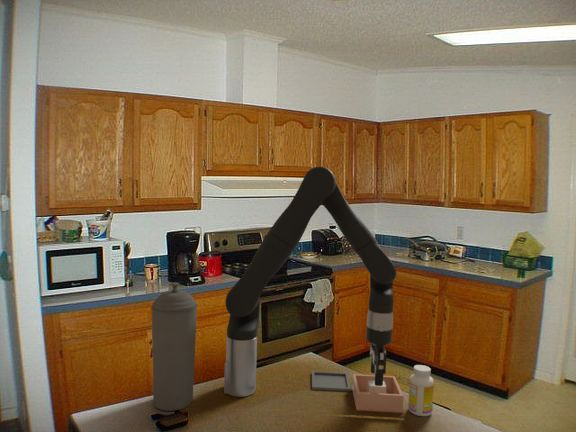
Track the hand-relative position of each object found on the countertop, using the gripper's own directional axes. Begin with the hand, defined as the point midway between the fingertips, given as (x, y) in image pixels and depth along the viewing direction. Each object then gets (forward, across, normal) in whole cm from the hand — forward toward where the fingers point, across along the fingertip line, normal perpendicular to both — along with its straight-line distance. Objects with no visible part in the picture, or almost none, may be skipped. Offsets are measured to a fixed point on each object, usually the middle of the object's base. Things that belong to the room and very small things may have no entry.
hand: (376, 378), depth 134 cm
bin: (+7, 0, 0) cm, 7 cm away
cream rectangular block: (+6, 0, 0) cm, 6 cm away
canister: (+8, +7, -59) cm, 60 cm away
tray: (+7, -11, -13) cm, 18 cm away
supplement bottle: (+7, +4, +12) cm, 15 cm away
